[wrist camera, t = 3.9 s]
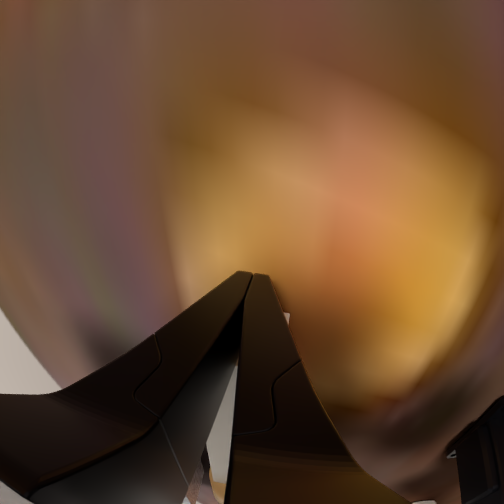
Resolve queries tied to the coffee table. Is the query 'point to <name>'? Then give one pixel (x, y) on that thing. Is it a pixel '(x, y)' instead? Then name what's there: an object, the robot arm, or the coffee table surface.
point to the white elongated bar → (223, 438)
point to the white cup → (425, 502)
